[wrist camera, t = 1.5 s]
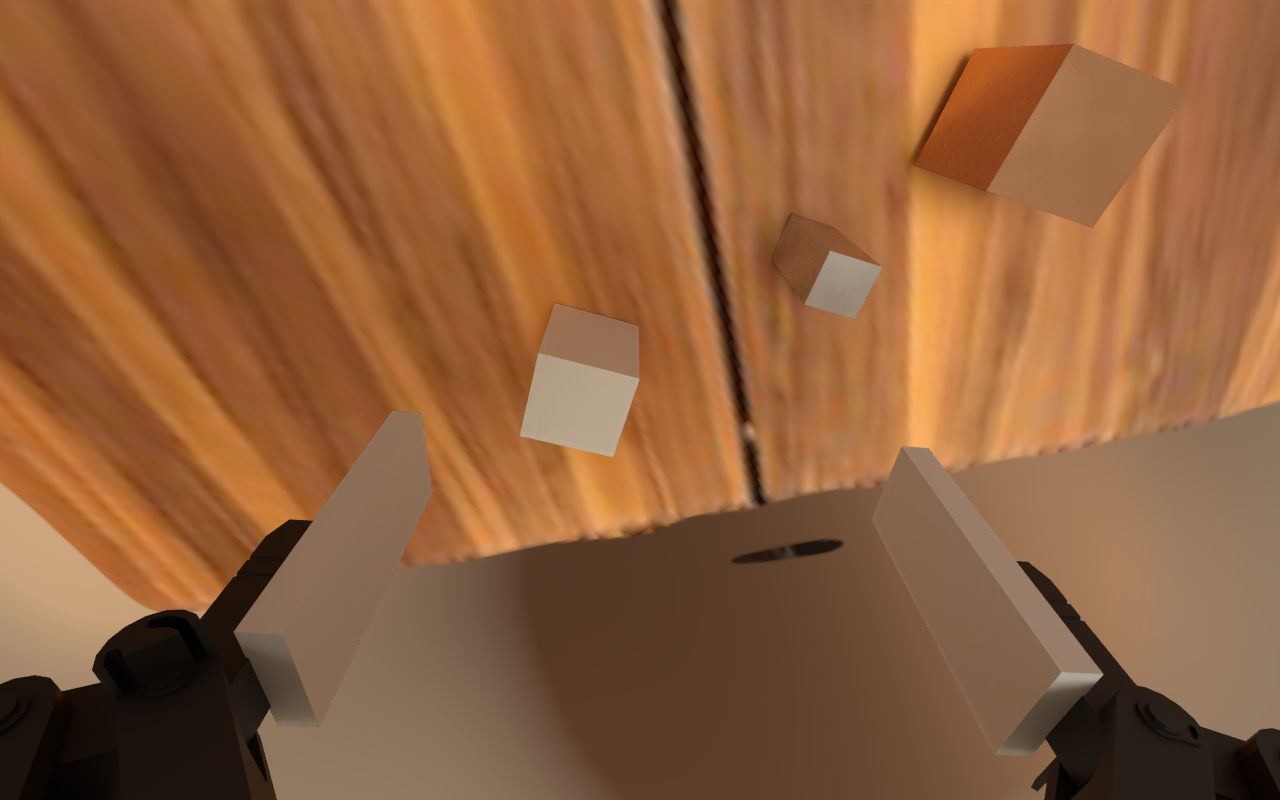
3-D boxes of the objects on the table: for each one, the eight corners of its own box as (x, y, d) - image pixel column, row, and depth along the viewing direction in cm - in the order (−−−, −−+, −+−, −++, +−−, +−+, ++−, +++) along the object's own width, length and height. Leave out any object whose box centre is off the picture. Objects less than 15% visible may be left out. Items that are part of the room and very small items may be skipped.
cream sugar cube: (538, 376, 35) (519, 436, 29) (554, 302, 32) (538, 352, 27) (616, 395, 36) (613, 457, 30) (638, 325, 33) (639, 378, 28)
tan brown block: (906, 162, 29) (986, 190, 22) (963, 49, 26) (1074, 43, 19) (991, 192, 29) (1092, 227, 23) (1055, 85, 27) (1190, 91, 20)
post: (771, 258, 31) (804, 304, 25) (790, 213, 30) (830, 250, 24) (812, 271, 32) (854, 319, 26) (833, 227, 30) (882, 267, 24)
